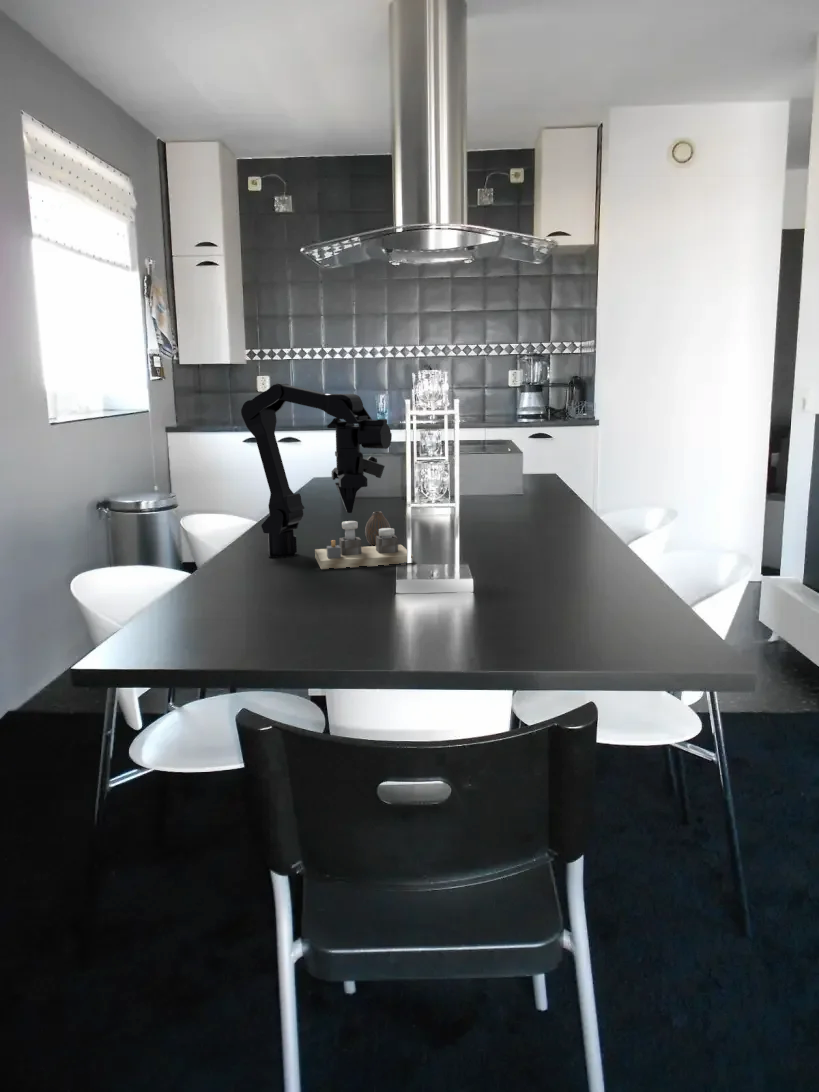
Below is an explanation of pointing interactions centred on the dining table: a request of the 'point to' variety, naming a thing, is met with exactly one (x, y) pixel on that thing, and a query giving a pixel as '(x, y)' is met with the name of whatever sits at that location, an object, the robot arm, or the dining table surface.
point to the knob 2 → (386, 532)
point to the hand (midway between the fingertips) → (349, 512)
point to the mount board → (364, 554)
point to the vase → (375, 526)
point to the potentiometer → (333, 550)
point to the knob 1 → (349, 529)
